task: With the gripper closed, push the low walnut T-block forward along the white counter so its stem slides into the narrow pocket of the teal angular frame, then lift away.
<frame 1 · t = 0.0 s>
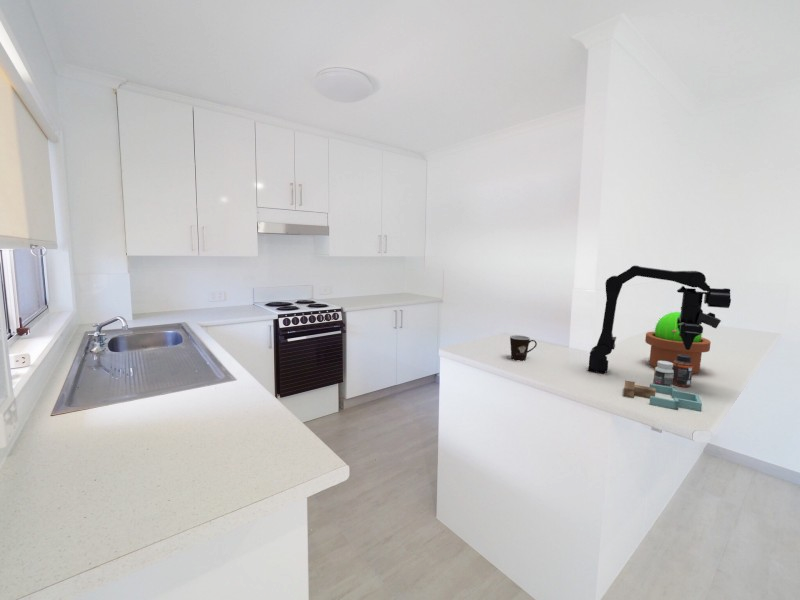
hand: (686, 347, 137), 15 cm above the worktop, fingers open, 9 cm apart
potted cactus: (673, 368, 160), on the worktop
pill bottle: (662, 389, 135), on the worktop
t block: (628, 393, 131), on the worktop
supplement bottle: (680, 385, 139), on the worktop
teal angular frame: (674, 401, 123), on the worktop
coffee mug: (522, 359, 170), on the worktop
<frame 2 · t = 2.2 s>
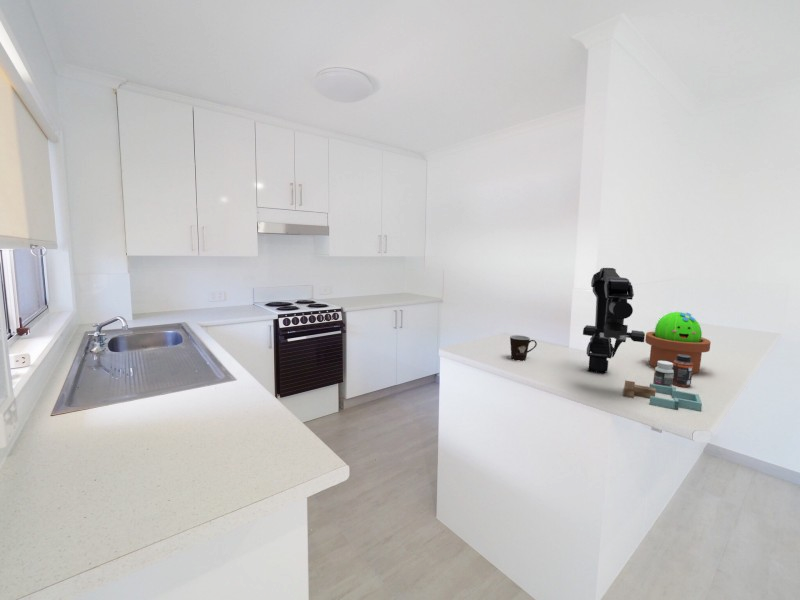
hand: (610, 356, 132), 12 cm above the worktop, fingers closed
nothing on the worktop moved.
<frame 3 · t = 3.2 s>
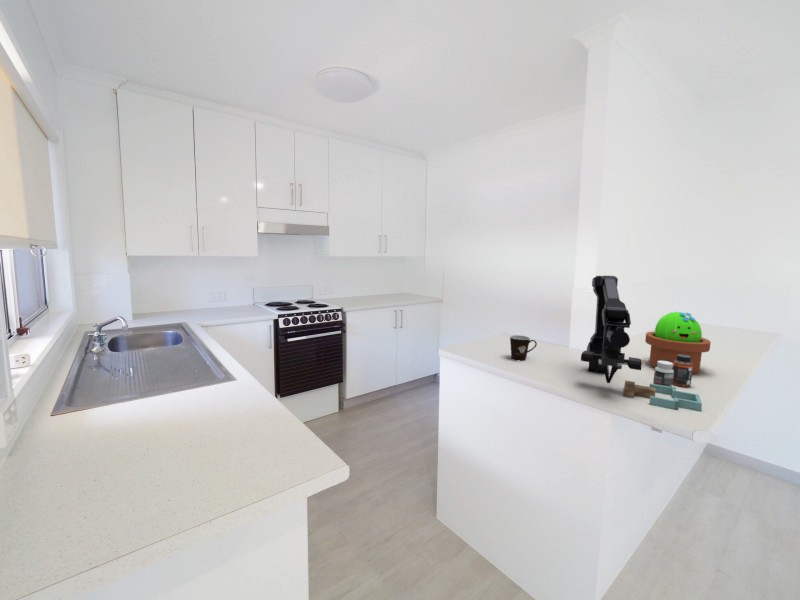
hand: (608, 382, 134), 2 cm above the worktop, fingers closed
nothing on the worktop moved.
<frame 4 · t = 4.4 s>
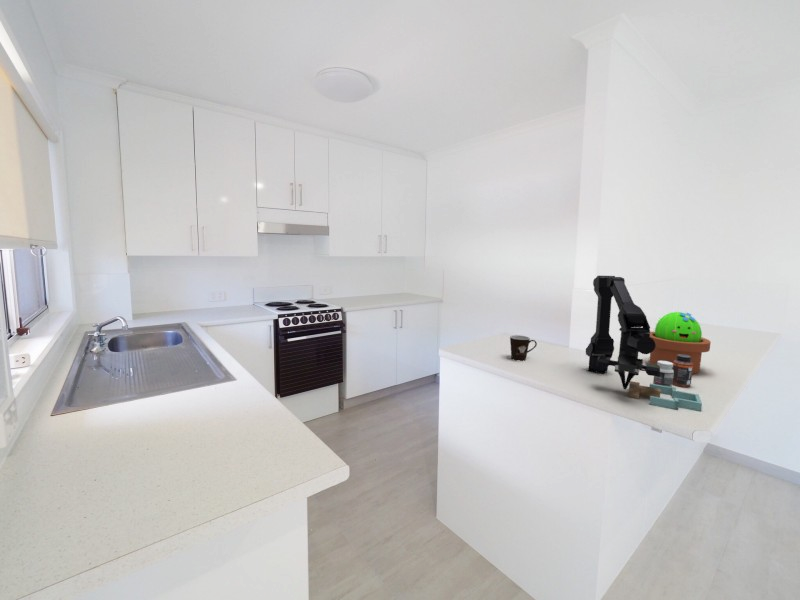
hand: (624, 389, 131), 1 cm above the worktop, fingers closed
t block: (633, 393, 130), on the worktop, touching gripper
everything else where it was.
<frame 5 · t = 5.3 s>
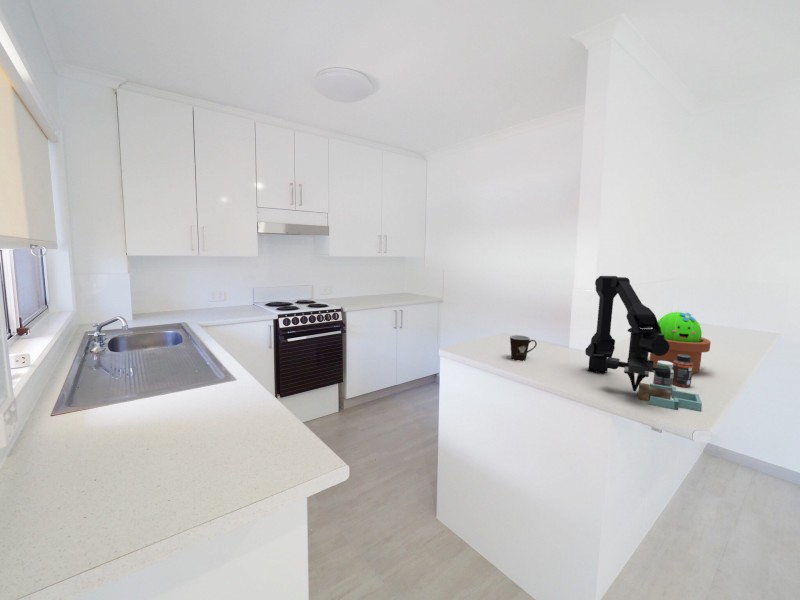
hand: (634, 390, 130), 1 cm above the worktop, fingers closed
t block: (643, 395, 128), on the worktop, touching gripper
everything else where it was.
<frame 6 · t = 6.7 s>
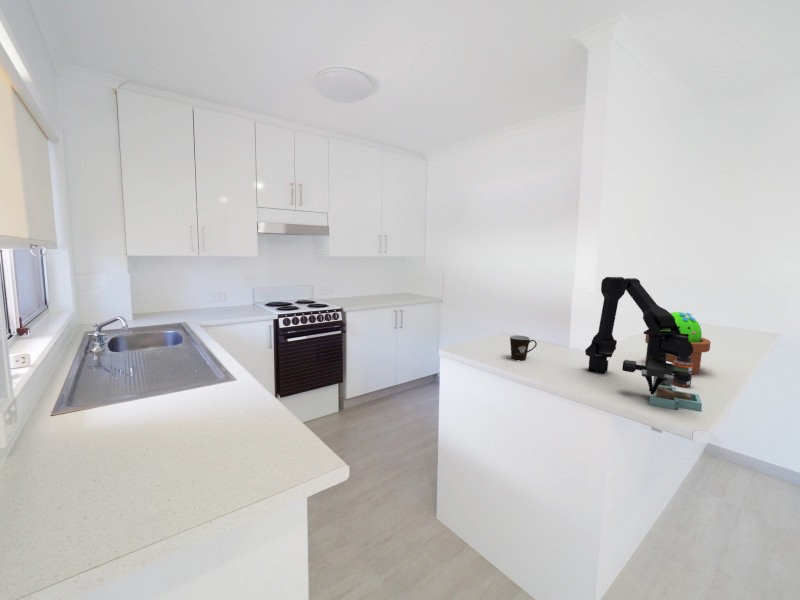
hand: (652, 394, 127), 1 cm above the worktop, fingers closed
t block: (661, 399, 125), on the worktop, touching gripper
everything else where it was.
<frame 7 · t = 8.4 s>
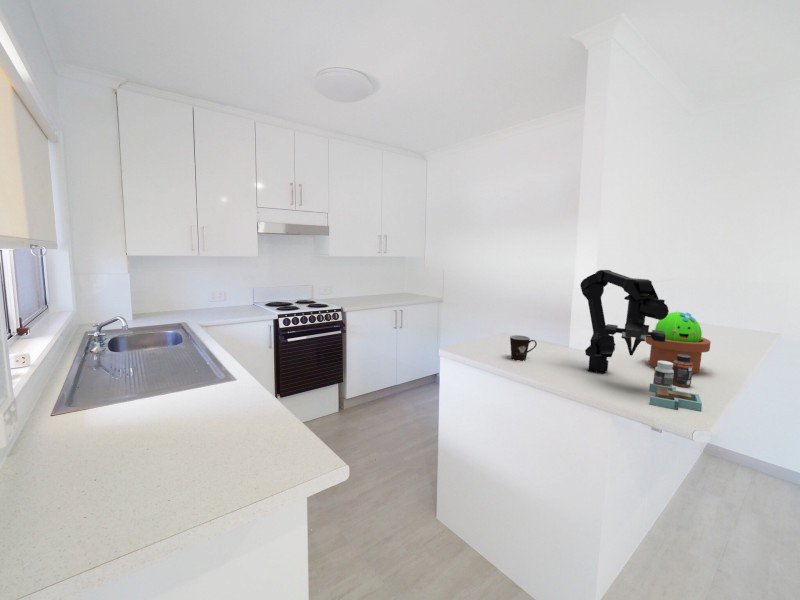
hand: (631, 355, 137), 12 cm above the worktop, fingers closed
t block: (661, 399, 125), on the worktop
everything else where it was.
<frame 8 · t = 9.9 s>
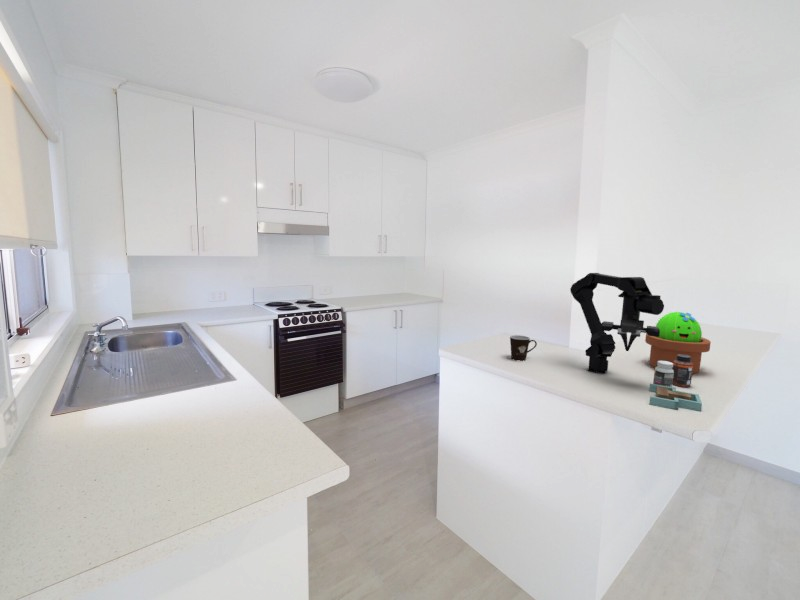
hand: (627, 350, 141), 12 cm above the worktop, fingers closed
nothing on the worktop moved.
at the end: t block 0.3 cm from the target spot, on the worktop; t block tilted 0°; t block moved 9.5 cm from its start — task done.
